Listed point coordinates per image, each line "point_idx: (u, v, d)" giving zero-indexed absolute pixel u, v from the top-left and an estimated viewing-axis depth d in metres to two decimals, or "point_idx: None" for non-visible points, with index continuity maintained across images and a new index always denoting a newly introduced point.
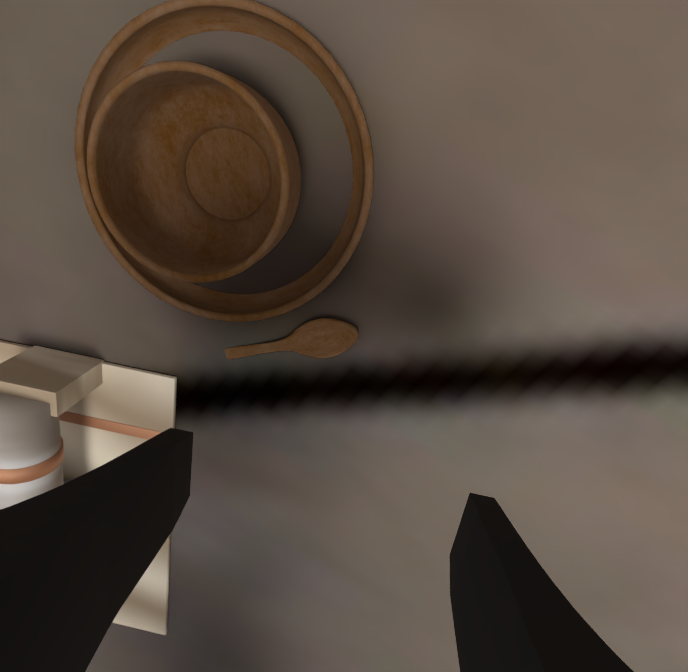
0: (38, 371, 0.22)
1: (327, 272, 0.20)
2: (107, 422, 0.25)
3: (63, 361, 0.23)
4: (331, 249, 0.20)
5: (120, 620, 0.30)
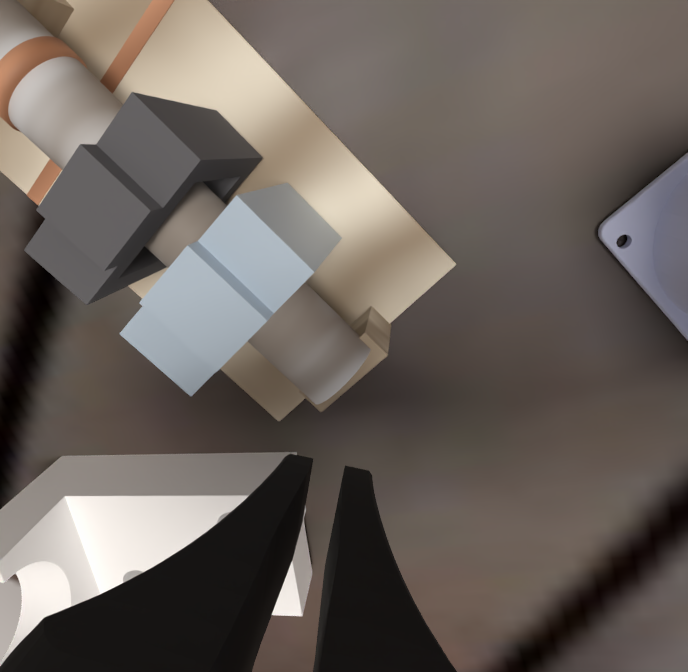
0: None
1: None
2: (123, 50, 0.18)
3: None
4: None
5: (397, 305, 0.20)
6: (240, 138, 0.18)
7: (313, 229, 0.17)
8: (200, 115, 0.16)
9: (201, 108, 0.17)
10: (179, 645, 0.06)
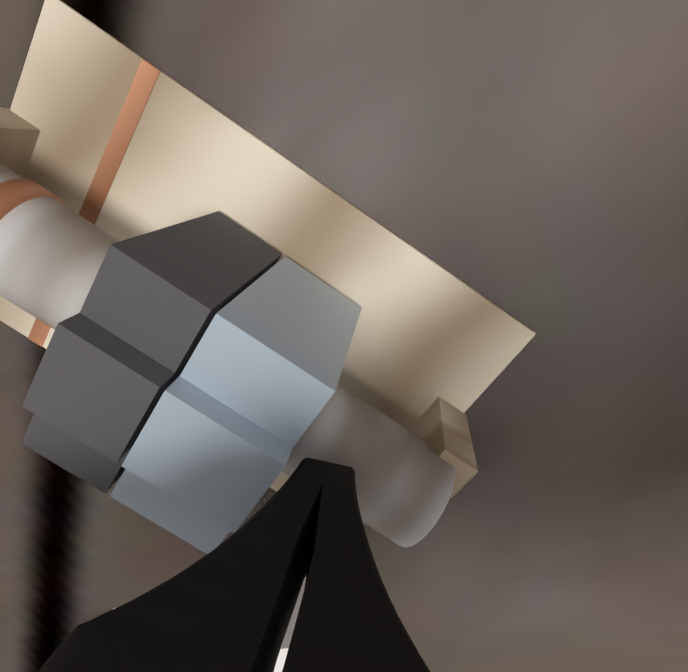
0: None
1: None
2: (102, 164, 0.16)
3: None
4: None
5: (469, 391, 0.17)
6: (252, 239, 0.15)
7: (325, 314, 0.14)
8: (201, 231, 0.13)
9: (201, 218, 0.14)
10: (214, 654, 0.06)
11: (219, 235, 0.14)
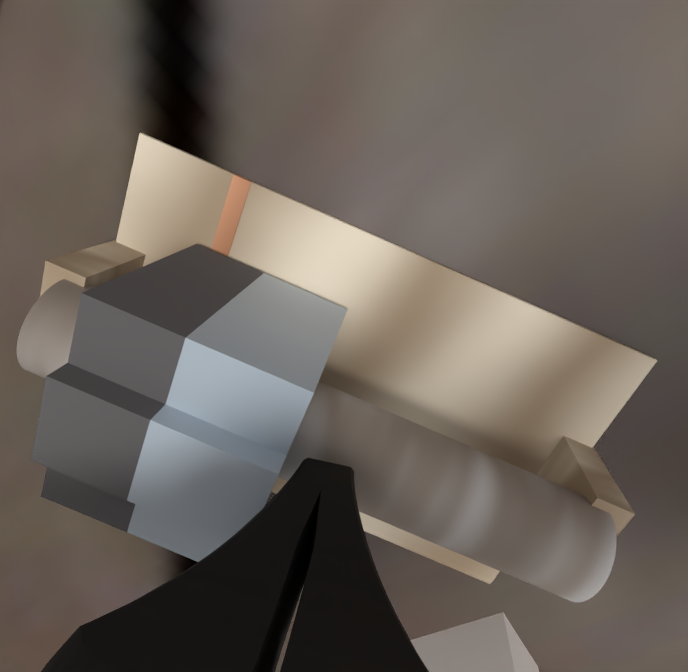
0: None
1: None
2: None
3: None
4: None
5: (595, 426, 0.17)
6: (232, 264, 0.15)
7: (306, 321, 0.14)
8: (177, 265, 0.14)
9: (177, 253, 0.14)
10: (216, 654, 0.06)
11: (196, 266, 0.14)
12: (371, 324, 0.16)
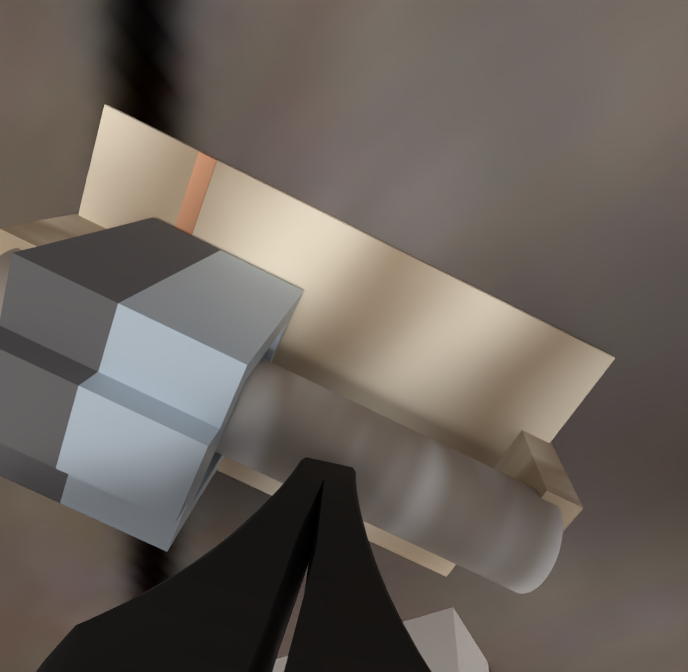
0: None
1: None
2: None
3: None
4: None
5: (553, 422, 0.17)
6: (187, 239, 0.15)
7: (255, 298, 0.14)
8: (126, 235, 0.13)
9: (129, 225, 0.14)
10: (212, 653, 0.06)
11: (147, 238, 0.14)
12: (334, 310, 0.16)
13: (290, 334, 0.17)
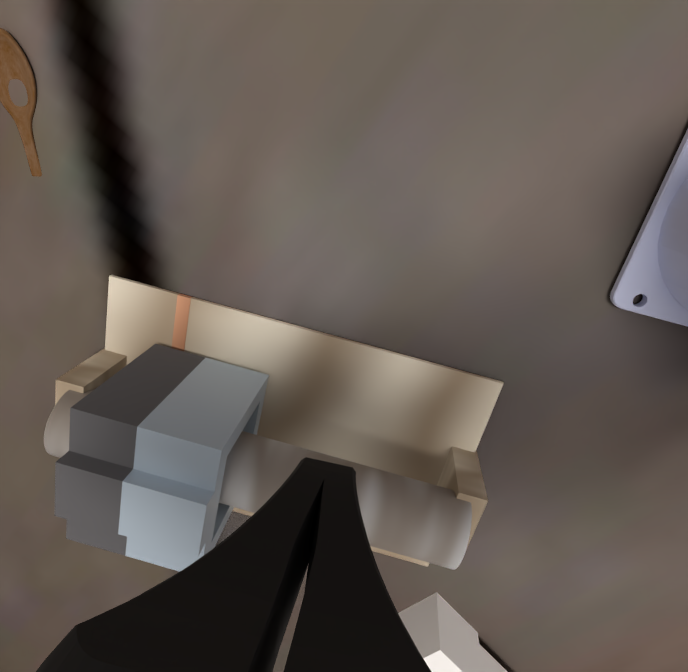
0: None
1: None
2: None
3: None
4: None
5: (472, 436, 0.22)
6: (180, 355, 0.22)
7: (230, 394, 0.20)
8: (138, 368, 0.20)
9: (139, 357, 0.21)
10: (212, 653, 0.06)
11: (152, 365, 0.20)
12: (294, 384, 0.22)
13: (267, 405, 0.23)
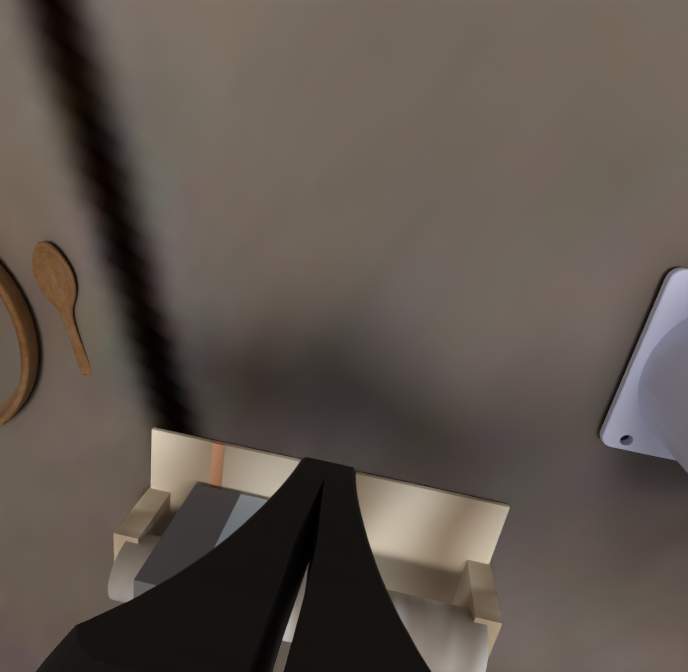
0: None
1: None
2: None
3: None
4: None
5: (485, 551, 0.24)
6: (219, 496, 0.24)
7: None
8: (184, 519, 0.23)
9: (183, 504, 0.23)
10: (212, 653, 0.06)
11: (196, 512, 0.23)
12: None
13: None
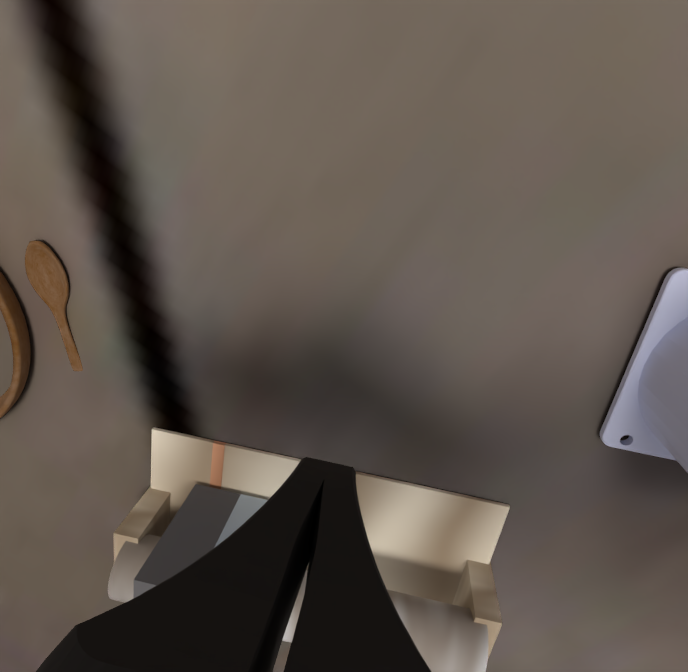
0: None
1: None
2: None
3: None
4: None
5: (485, 551, 0.24)
6: (219, 496, 0.24)
7: None
8: (184, 519, 0.23)
9: (183, 504, 0.23)
10: (212, 653, 0.06)
11: (196, 512, 0.23)
12: None
13: None
